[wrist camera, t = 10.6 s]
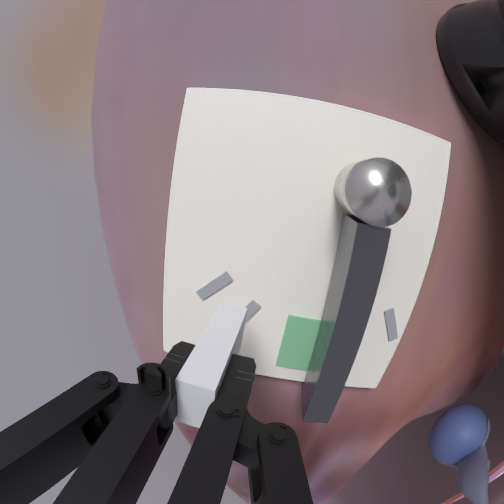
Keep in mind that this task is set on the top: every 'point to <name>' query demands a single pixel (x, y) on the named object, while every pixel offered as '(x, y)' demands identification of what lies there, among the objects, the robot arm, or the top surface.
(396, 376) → the top surface
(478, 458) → the seal
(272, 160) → the dial board
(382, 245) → the ball-tipped lever
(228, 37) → the top surface
